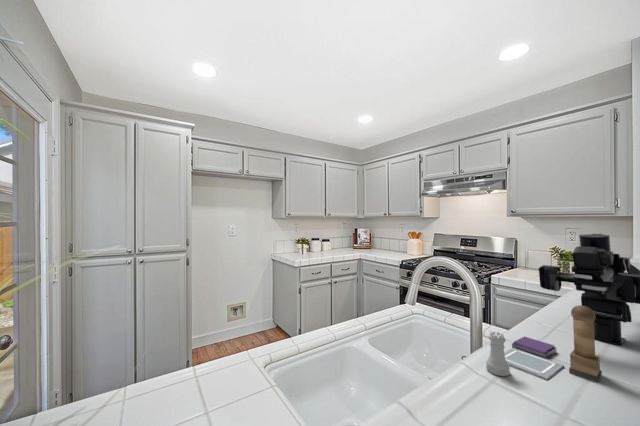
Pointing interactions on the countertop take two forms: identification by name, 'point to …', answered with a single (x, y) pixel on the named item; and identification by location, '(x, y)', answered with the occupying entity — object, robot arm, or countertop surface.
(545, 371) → the marked card
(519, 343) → the ink pad
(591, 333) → the wooden ball finial
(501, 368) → the rook chess piece
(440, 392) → the countertop surface
